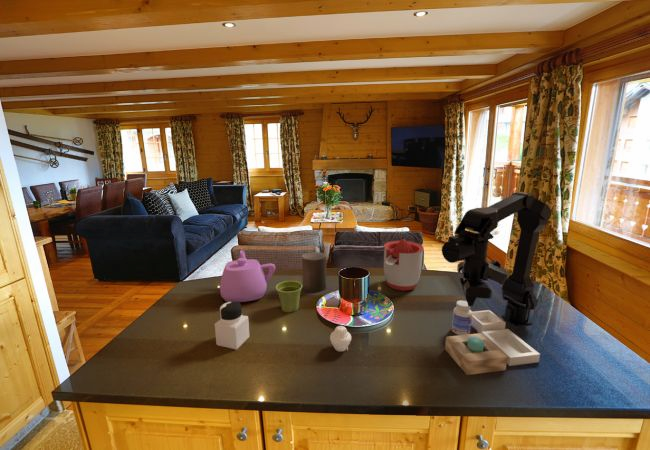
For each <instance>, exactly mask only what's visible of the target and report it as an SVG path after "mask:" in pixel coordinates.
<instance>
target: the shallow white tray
mask: <svg viewBox="0 0 650 450" xmlns="http://www.w3.org/2000/svg"><path fill="white" fill-rule="evenodd" d="M481 333H482V334H483V335H484V336H485V337H486V338H487V339H488V340H490V341H491V342H492V343H493V344H494V345H495V346H496V347H497V348H498V349H500V350H501V351H502V352H503V353H504V354H505V355H506V356H507V364H506V365H507V366H508V367H511V366H512V367H513V366H520V365H526V364H528V365H529V364H534V363H535V364H536V363H539V362H540V356H541V353H540V352H538V351H537V350H536V349H534V348H533V347H532V346H531V345H529V344H528V343H526V342H525V341H524V340H523V339H522V338H521V337H520V336H518V335H517V334H515V333H514V332H512V330H510V329H509V328H505V329H502V330H493V331H484V332H481Z"/></svg>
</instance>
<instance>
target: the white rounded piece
mask: <svg viewBox="0 0 650 450" xmlns="http://www.w3.org/2000/svg"><path fill="white" fill-rule="evenodd" d="M329 340H330V342H331V345H332V346H333V348H334V350H335V351H337V352H344V351H346V350H347V348H348V347H349V345H350V344H351V341H352V334H351V333H350V332H349V331H348V329H347V328H346V327H345V326H343V325H337V326H336V327H335V328H334V331H332V332H331V334H330V335H329Z"/></svg>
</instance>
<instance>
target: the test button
mask: <svg viewBox="0 0 650 450" xmlns="http://www.w3.org/2000/svg"><path fill="white" fill-rule="evenodd" d="M467 348H468V349H469V350H470V351H471V352H472V353H476V352H483V348H484V341H483V340H482V339H480V338H477V337H469V338H468V343H467Z"/></svg>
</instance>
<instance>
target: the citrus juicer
mask: <svg viewBox="0 0 650 450" xmlns="http://www.w3.org/2000/svg"><path fill="white" fill-rule="evenodd" d="M383 248H384V249H383V251H384V252H383V274H384V278H385V282H386V284H387V286H388V287H389V288H391V289H394V290H397V291H402V292H406V291H411V290H414V289H415V288H416V287H417V286H418V283H419V280H420V277H421V274H422V273H421V272H422V266H423V251H424V246H423V245H422V244H420V243H417V242H415V241H408V240H407V239H404V238H403V239H401V240H393V241H387V242H386V243H384V245H383Z"/></svg>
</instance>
